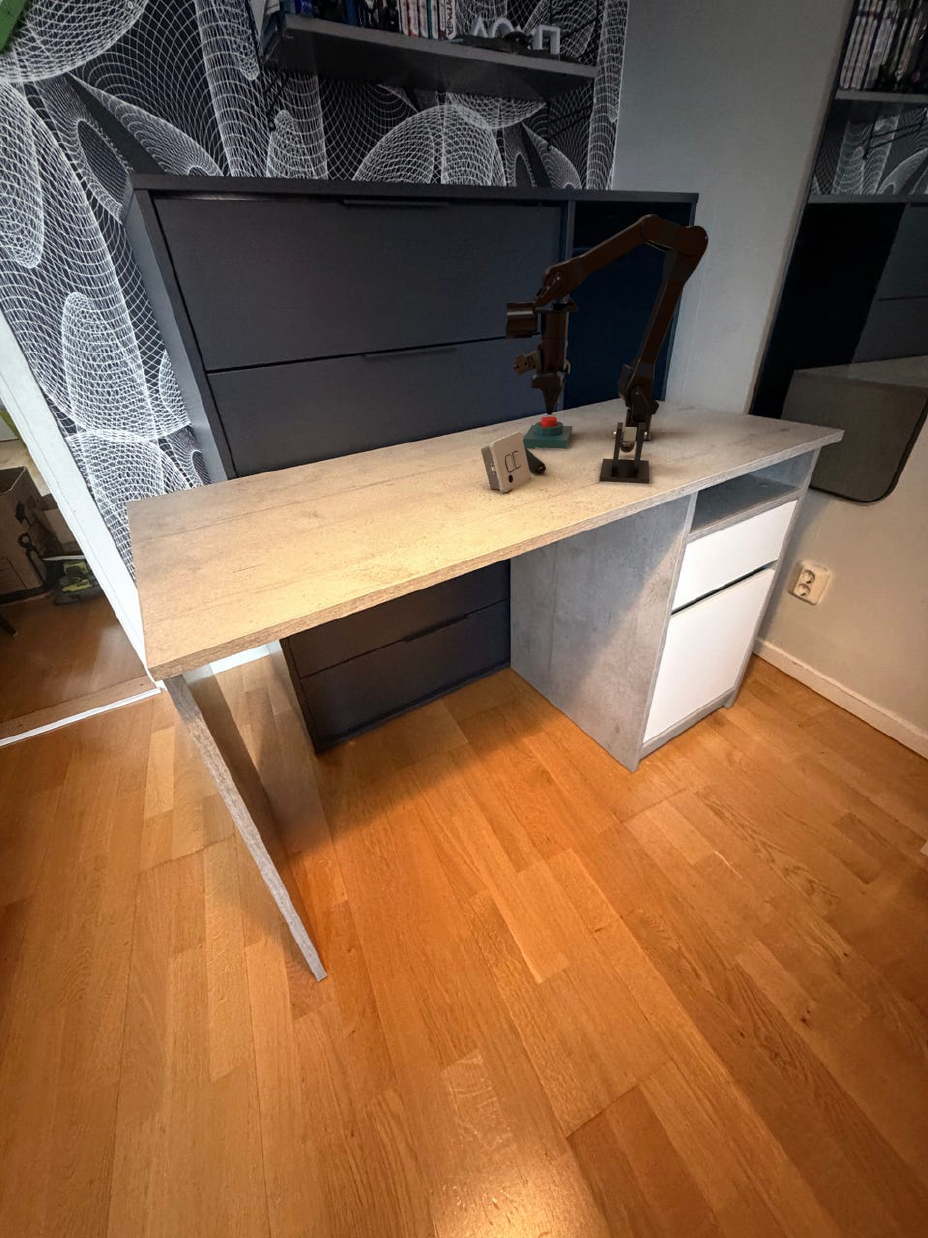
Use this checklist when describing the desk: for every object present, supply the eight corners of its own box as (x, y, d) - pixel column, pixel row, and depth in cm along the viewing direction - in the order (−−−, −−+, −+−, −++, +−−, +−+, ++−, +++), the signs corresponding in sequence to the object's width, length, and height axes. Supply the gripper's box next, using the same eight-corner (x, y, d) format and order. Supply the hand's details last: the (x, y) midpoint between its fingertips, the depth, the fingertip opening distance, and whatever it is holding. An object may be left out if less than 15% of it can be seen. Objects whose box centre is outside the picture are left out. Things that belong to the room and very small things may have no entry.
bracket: (602, 464, 102) (607, 417, 97) (647, 466, 100) (655, 418, 95) (599, 482, 94) (604, 433, 89) (648, 485, 92) (657, 434, 86)
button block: (531, 433, 123) (532, 417, 121) (571, 435, 120) (573, 418, 118) (522, 448, 114) (523, 430, 111) (566, 450, 111) (567, 431, 109)
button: (542, 423, 117) (542, 416, 116) (557, 424, 116) (557, 416, 115) (539, 427, 114) (540, 420, 113) (555, 428, 113) (555, 420, 112)
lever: (618, 453, 105) (620, 438, 105) (633, 453, 104) (635, 439, 104) (620, 442, 92) (622, 425, 91) (637, 442, 91) (639, 425, 91)
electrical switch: (504, 494, 92) (500, 443, 87) (482, 492, 95) (477, 442, 90) (531, 479, 97) (528, 431, 92) (509, 477, 100) (506, 430, 95)
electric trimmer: (532, 479, 98) (533, 463, 96) (506, 455, 110) (506, 441, 108) (549, 476, 99) (550, 461, 97) (521, 453, 111) (522, 439, 109)
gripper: (524, 332, 114) (522, 404, 123) (507, 344, 99) (507, 424, 108) (572, 331, 111) (567, 404, 120) (562, 343, 96) (557, 425, 105)
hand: (549, 414), depth 113 cm, fingers closed
